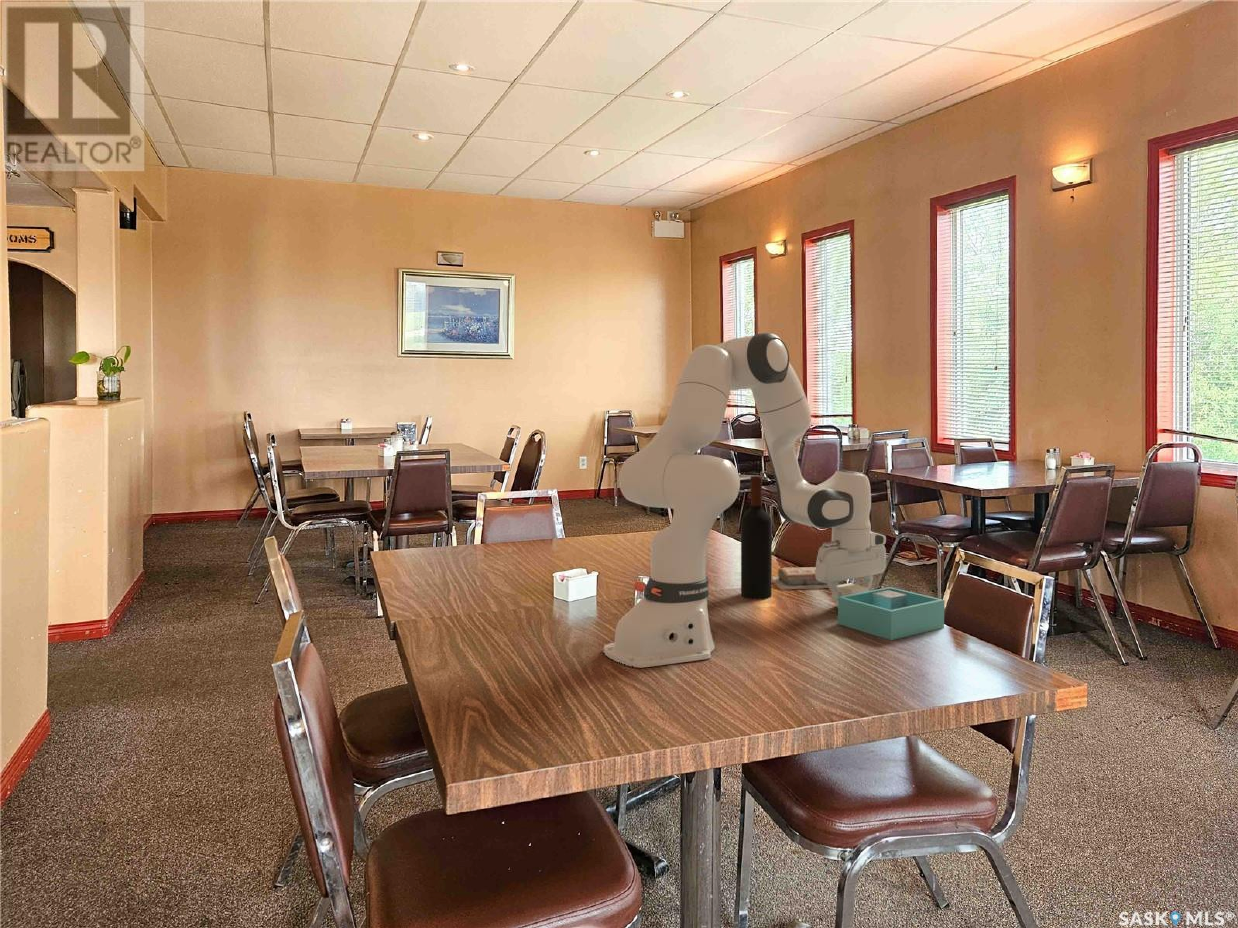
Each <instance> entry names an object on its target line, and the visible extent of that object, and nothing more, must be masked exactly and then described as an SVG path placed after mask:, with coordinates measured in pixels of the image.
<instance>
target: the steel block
mask: <svg viewBox="0 0 1238 928" xmlns="http://www.w3.org/2000/svg"><path fill="white" fill-rule="evenodd" d="M873 605H874V606H878V607H882V608H885V609H889V610H894V609H898V608H903V607H907V595H906V594H902V593H898V592H894V591H890V590H887V591H882V592H877V593H873Z"/></svg>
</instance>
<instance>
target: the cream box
mask: <svg viewBox="0 0 1238 928" xmlns="http://www.w3.org/2000/svg"><path fill="white" fill-rule="evenodd" d="M837 588H838V591H839V592H841V596H846V595H852V594H857V593H862V592H867V587H864V586H862V585H860V584H855V583H851V582H850V583H846V584H844V585H838V586H837ZM834 601H835V605H834V606H835V607H836V608H838V600H834Z"/></svg>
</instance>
